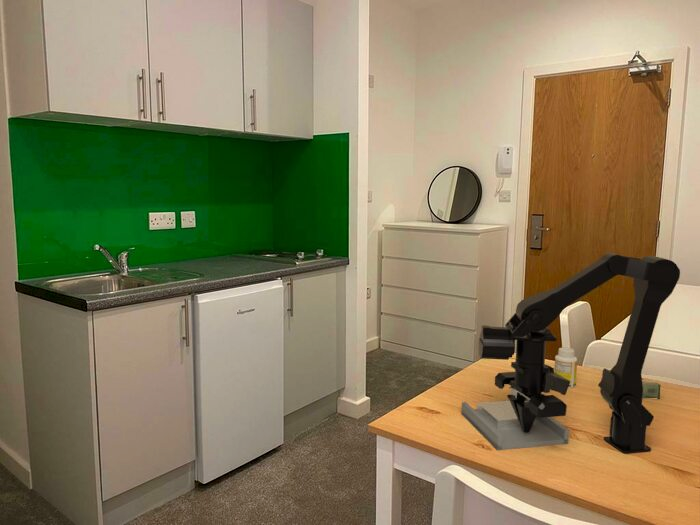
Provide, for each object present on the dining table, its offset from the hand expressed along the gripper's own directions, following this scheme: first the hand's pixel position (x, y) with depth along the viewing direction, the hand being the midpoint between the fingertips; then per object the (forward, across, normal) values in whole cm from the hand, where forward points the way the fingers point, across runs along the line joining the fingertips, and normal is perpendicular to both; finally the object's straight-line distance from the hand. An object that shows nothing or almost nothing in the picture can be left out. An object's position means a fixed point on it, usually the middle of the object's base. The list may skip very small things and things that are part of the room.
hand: (525, 432), depth 113 cm
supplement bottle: (+2, +28, -28) cm, 39 cm away
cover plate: (+1, +9, 0) cm, 9 cm away
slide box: (+2, +6, 0) cm, 6 cm away
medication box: (+2, +18, -41) cm, 44 cm away
